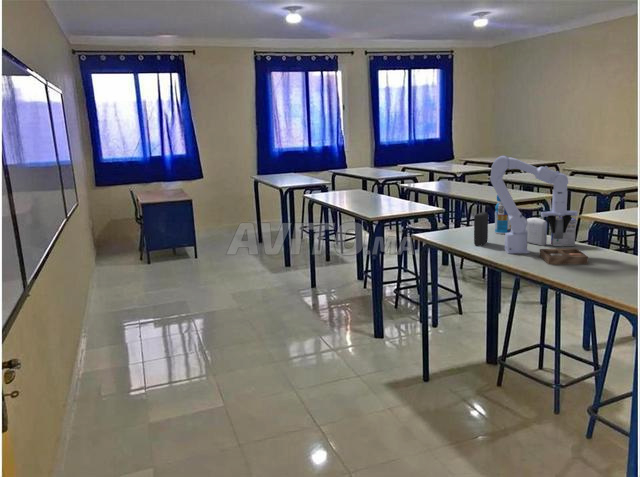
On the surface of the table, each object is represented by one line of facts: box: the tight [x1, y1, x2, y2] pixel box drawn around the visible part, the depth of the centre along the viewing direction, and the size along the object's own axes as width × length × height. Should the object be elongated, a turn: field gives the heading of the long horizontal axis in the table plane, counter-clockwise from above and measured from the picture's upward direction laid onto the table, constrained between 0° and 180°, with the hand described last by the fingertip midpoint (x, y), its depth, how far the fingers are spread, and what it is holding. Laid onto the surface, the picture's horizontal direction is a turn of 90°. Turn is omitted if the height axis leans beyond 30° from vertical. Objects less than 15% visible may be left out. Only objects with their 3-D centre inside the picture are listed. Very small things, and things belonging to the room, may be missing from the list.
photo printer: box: [526, 217, 548, 247], centre depth 248 cm, size 10×4×12 cm, turn 31°
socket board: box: [539, 247, 589, 265], centre depth 221 cm, size 15×14×3 cm
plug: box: [553, 217, 564, 239], centre depth 228 cm, size 4×4×9 cm
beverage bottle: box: [494, 194, 512, 235], centre depth 273 cm, size 8×8×20 cm
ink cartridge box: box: [550, 216, 577, 247], centre depth 242 cm, size 10×6×14 cm, turn 78°
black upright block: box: [473, 211, 489, 246], centre depth 253 cm, size 9×4×15 cm, turn 141°
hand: (558, 232), depth 229 cm, fingers closed on plug, 4 cm apart
